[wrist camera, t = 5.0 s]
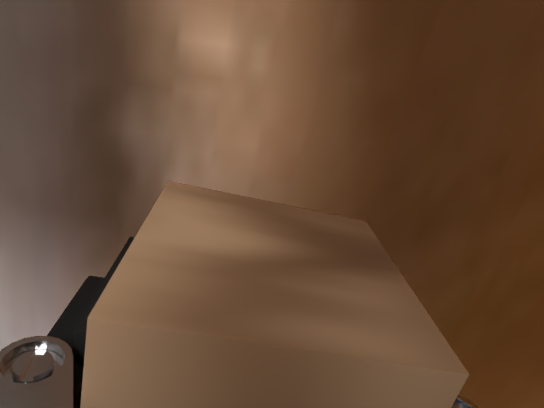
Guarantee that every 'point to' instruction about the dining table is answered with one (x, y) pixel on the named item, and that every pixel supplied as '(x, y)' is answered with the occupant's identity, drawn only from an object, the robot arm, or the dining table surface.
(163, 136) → the dining table surface
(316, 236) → the walnut cube
